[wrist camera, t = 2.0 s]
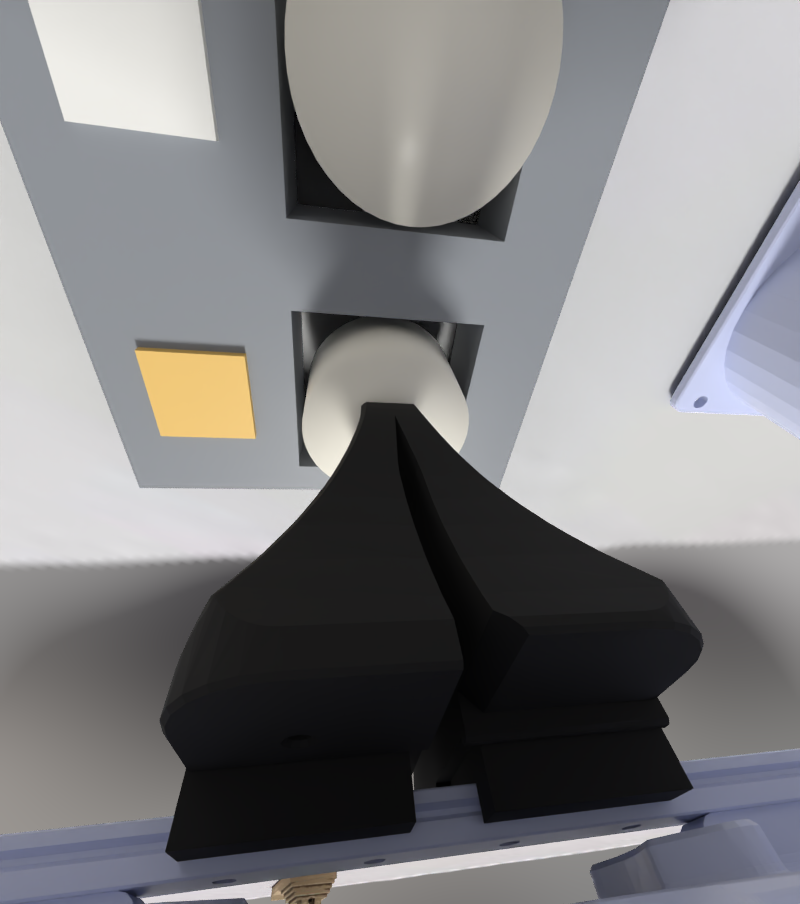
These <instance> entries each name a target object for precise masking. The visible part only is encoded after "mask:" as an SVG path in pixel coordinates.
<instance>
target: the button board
mask: <svg viewBox="0 0 800 904" xmlns="http://www.w3.org/2000/svg"><path fill="white" fill-rule="evenodd" d="M669 2H670V0H562V6H563V46H562V54H561V63H560V70H559V75H558V80H557V85H556V90H555V94H554V97H553V100H552V104H551V107H550V110H549V114H548V116H547V119H546V121H545V124H544V126H543V129H542V131H541V133H540V136H539V138H538V140H537V141H536V143H535V145H534V147H533V149H532V151H531V153H530V155H529V156H528V158H527V159H526V161H525V162H524V164H523V165H522V167H521V168H520V170H519V171H518V172H517V174H516V175H515V176H514V177H513V179H512V180H511V181H510V182H509V183H508V185H507V186H506V187H505V188H504V189H503V190H502V191H501V192H500V193H499V194H498V195H497V196H495V197H494V198H493V199H492V200H490V201H489V202H488V203H487V204H485V205H484V206H483V207H481V209H480V214H479V219H478V224H477V225H476V224H467V223H458V222H450V223H447V224H443V225H439V226H431V227H408V226H403V225H398V224H393V223H391V222H388V221H385V220H382V219H379V218H378V217H376V216H374V215H372V214H370V213H368V212H361V211H353V210H344V209H335V208H326V207H317V206H308V205H300V204H297V183H296V157H295V131H294V104H293V100H292V96H291V91H290V86H289V80H288V75H287V67H286V56H285V13H286V3H287V0H0V122H1V124H2V127H3V130H4V132H5V135H6V137H7V140H8V143H9V145H10V148H11V151H12V153H13V156H14V158H15V161H16V164H17V166H18V169H19V172H20V174H21V177H22V180H23V182H24V185H25V187H26V190H27V193H28V195H29V198H30V201H31V203H32V206H33V208H34V211H35V214H36V216H37V219H38V222H39V224H40V227H41V230H42V232H43V235H44V237H45V240H46V243H47V245H48V248H49V251H50V253H51V256H52V258H53V261H54V264H55V266H56V269H57V272H58V274H59V277H60V280H61V282H62V285H63V287H64V290H65V293H66V295H67V298H68V301H69V303H70V306H71V308H72V311H73V314H74V316H75V319H76V322H77V324H78V327H79V329H80V332H81V335H82V337H83V340H84V343H85V345H86V348H87V351H88V353H89V356H90V358H91V361H92V364H93V366H94V369H95V372H96V374H97V377H98V379H99V382H100V385H101V387H102V390H103V393H104V395H105V398H106V401H107V403H108V406H109V408H110V411H111V414H112V416H113V419H114V422H115V424H116V427H117V429H118V432H119V435H120V437H121V440H122V443H123V445H124V448H125V451H126V453H127V456H128V458H129V461H130V464H131V466H132V469H133V472H134V474H135V477H136V479H137V482H138V485H139V487H140V488H214V489H320V490H322V488H323V487H324V486H325V484H326V483H327V481H328V480H329V479H330V477H329V476H328V475H327V474H325V473H324V472H323V471H322V470H321V469H320V468H319V467H318V466H317V465H316V464H315V463H314V461H313V460H312V458H311V457H310V455H309V453H308V451H307V449H306V446H305V443H304V440H303V434H302V418H303V412H304V405H305V394H304V368H303V341H302V315H301V312H314V313H328V314H341V315H355V316H368V317H382V318H395V319H409V320H422V321H436V322H449V323H458V324H457V329H456V334H455V339H454V344H453V349H452V354H451V359H450V364H449V365H450V367H451V369H452V371H453V373H454V376H455V378H456V380H457V382H458V384H459V386H460V389H461V391H462V393H463V395H464V397H465V400H466V403H467V407H468V413H469V426H468V432H467V436H466V439H465V442H464V444H463V446H462V448H461V450H460V452H459V453H458V454H459V455H460V456H461V457H463V458H464V459H465V460H466V461H467V462H468V463H469V464H470V465H471V466H472V467H473V468H474V469H476V470H477V471H478V472H479V473H480V474H481V475H482V476H484V477H485V478H486V479H487V480H488V481H490V482H491V483H492V484H494V485H495V486H496V487H497V488H499V487H500V484H501V481H502V478H503V475H504V473H505V470H506V467H507V464H508V461H509V458H510V455H511V453H512V450H513V447H514V444H515V441H516V438H517V436H518V433H519V430H520V427H521V424H522V421H523V418H524V416H525V413H526V410H527V407H528V404H529V401H530V398H531V396H532V393H533V390H534V387H535V384H536V381H537V378H538V376H539V373H540V370H541V367H542V364H543V361H544V358H545V356H546V353H547V350H548V347H549V344H550V341H551V338H552V336H553V333H554V330H555V327H556V324H557V321H558V318H559V316H560V313H561V310H562V307H563V304H564V301H565V298H566V296H567V293H568V290H569V287H570V284H571V281H572V278H573V276H574V273H575V270H576V267H577V264H578V261H579V258H580V256H581V253H582V250H583V247H584V244H585V241H586V239H587V236H588V233H589V230H590V227H591V224H592V221H593V219H594V216H595V213H596V210H597V207H598V204H599V201H600V199H601V196H602V193H603V190H604V187H605V184H606V181H607V179H608V176H609V173H610V170H611V167H612V164H613V161H614V159H615V156H616V153H617V150H618V147H619V144H620V141H621V139H622V136H623V133H624V130H625V127H626V124H627V121H628V119H629V116H630V113H631V110H632V107H633V104H634V101H635V99H636V96H637V93H638V90H639V87H640V84H641V81H642V79H643V76H644V73H645V70H646V67H647V64H648V62H649V59H650V56H651V53H652V50H653V47H654V44H655V42H656V39H657V36H658V33H659V30H660V27H661V24H662V22H663V19H664V16H665V13H666V10H667V7H668V4H669Z"/></svg>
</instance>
